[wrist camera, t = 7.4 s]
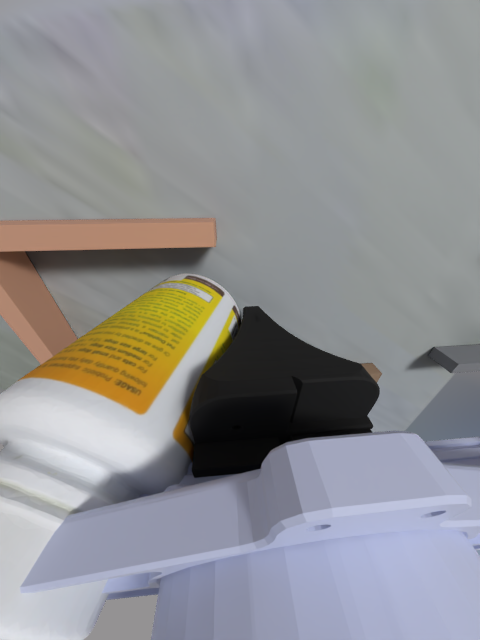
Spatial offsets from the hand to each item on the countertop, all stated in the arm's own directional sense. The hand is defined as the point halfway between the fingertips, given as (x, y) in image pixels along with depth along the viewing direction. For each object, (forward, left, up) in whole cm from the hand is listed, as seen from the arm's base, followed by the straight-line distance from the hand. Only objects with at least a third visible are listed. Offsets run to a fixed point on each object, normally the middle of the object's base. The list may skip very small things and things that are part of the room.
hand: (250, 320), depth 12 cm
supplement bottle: (0, +3, -1) cm, 3 cm away
